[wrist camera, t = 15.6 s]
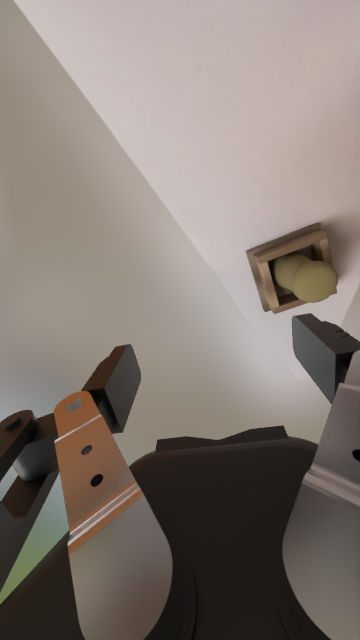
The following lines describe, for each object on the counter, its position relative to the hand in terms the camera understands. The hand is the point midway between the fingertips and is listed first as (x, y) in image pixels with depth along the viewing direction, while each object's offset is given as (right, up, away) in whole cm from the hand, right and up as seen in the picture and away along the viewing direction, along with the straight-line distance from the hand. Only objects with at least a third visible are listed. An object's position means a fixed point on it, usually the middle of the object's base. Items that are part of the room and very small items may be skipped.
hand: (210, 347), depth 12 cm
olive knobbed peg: (+16, +10, +27) cm, 33 cm away
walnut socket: (+16, +10, +28) cm, 34 cm away
